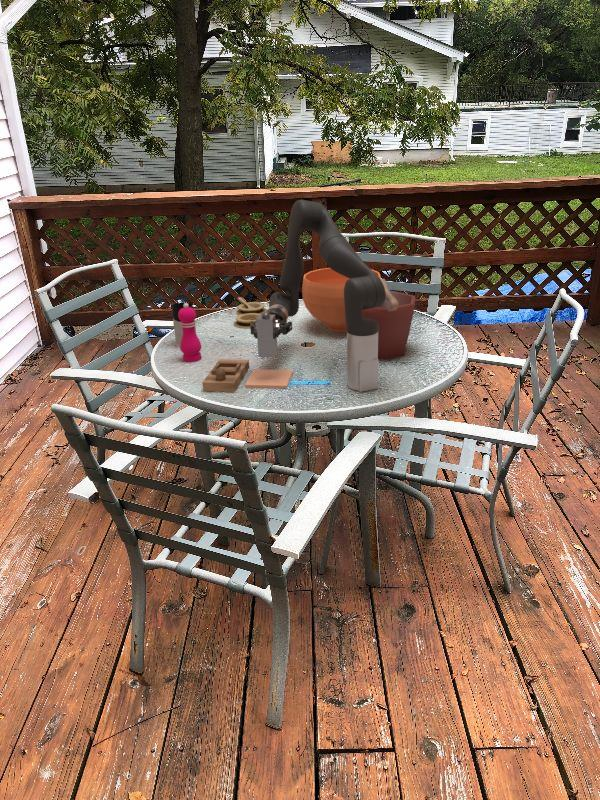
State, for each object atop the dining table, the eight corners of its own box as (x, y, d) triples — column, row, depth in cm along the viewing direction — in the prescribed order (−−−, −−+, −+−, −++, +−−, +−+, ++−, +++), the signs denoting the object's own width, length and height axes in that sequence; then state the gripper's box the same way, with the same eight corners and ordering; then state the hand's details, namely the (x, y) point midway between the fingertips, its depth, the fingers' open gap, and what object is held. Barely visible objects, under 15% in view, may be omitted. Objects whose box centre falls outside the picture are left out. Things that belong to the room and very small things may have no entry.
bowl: (360, 312, 263) (360, 263, 254) (395, 332, 237) (396, 278, 228) (292, 322, 253) (290, 272, 245) (321, 344, 227) (320, 289, 219)
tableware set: (229, 310, 276) (228, 297, 273) (274, 308, 276) (273, 295, 274) (225, 331, 249) (224, 317, 246) (275, 329, 249) (274, 314, 247)
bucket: (411, 365, 205) (413, 290, 195) (343, 363, 210) (343, 289, 200) (414, 341, 227) (416, 272, 217) (353, 339, 232) (352, 271, 221)
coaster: (254, 372, 206) (254, 369, 205) (293, 372, 204) (293, 369, 203) (245, 387, 194) (245, 384, 194) (286, 388, 192) (286, 385, 192)
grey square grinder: (261, 351, 198) (259, 310, 192) (277, 351, 197) (275, 310, 192) (258, 356, 194) (255, 315, 188) (274, 357, 193) (272, 315, 187)
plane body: (220, 367, 211) (218, 350, 208) (249, 368, 209) (248, 351, 207) (203, 391, 193) (201, 373, 190) (235, 392, 191) (233, 373, 189)
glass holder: (194, 338, 240) (189, 300, 234) (207, 349, 228) (202, 309, 222) (171, 343, 236) (166, 304, 230) (184, 354, 225) (179, 313, 218)
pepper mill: (191, 354, 224) (184, 299, 216) (206, 357, 221) (200, 301, 212) (177, 360, 218) (170, 304, 210) (193, 363, 215) (186, 307, 207)
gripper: (253, 307, 205) (241, 323, 190) (296, 307, 203) (287, 323, 187) (254, 329, 208) (242, 347, 193) (297, 329, 206) (289, 347, 191)
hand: (265, 335), depth 190 cm, fingers closed on grey square grinder, 5 cm apart
